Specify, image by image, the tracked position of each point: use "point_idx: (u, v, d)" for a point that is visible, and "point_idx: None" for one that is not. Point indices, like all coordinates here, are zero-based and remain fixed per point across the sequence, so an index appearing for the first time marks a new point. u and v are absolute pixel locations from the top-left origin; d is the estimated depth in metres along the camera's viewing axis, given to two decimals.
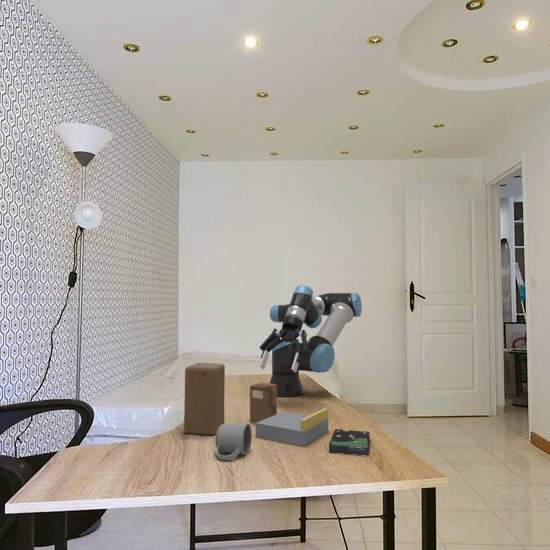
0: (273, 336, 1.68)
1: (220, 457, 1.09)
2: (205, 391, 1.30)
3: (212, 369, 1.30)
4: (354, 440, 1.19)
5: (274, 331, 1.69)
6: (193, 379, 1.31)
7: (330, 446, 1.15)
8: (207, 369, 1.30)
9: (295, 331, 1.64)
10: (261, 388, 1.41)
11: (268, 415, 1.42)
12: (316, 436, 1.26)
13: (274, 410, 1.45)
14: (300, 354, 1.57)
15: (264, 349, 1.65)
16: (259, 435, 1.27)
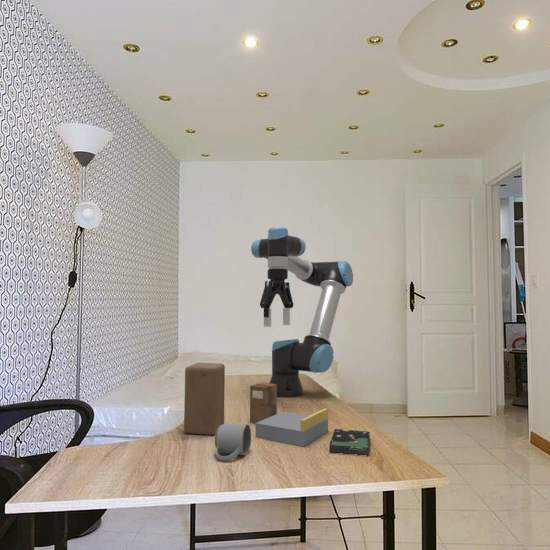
0: None
1: (219, 458, 1.09)
2: (205, 391, 1.30)
3: (212, 369, 1.30)
4: (355, 440, 1.19)
5: None
6: (193, 379, 1.31)
7: (331, 446, 1.15)
8: (207, 369, 1.30)
9: None
10: (261, 388, 1.41)
11: (268, 415, 1.42)
12: (316, 436, 1.26)
13: (274, 410, 1.45)
14: None
15: None
16: (259, 435, 1.27)
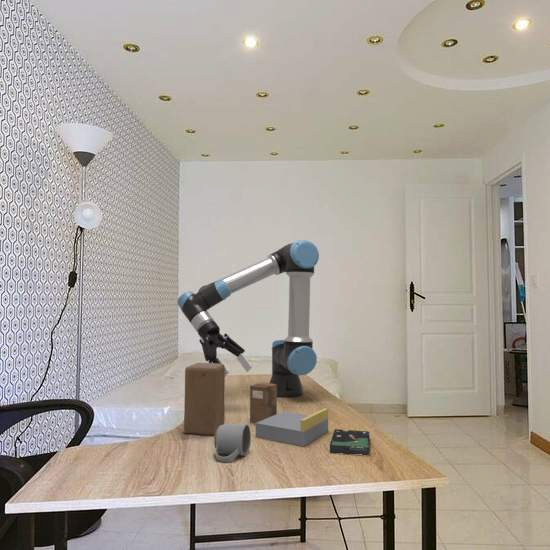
0: None
1: (219, 458, 1.08)
2: (205, 391, 1.30)
3: (212, 369, 1.30)
4: (355, 440, 1.19)
5: None
6: (193, 379, 1.31)
7: (331, 446, 1.15)
8: (207, 369, 1.30)
9: None
10: (261, 388, 1.41)
11: (268, 415, 1.42)
12: (316, 436, 1.26)
13: (274, 410, 1.45)
14: None
15: None
16: (259, 435, 1.27)
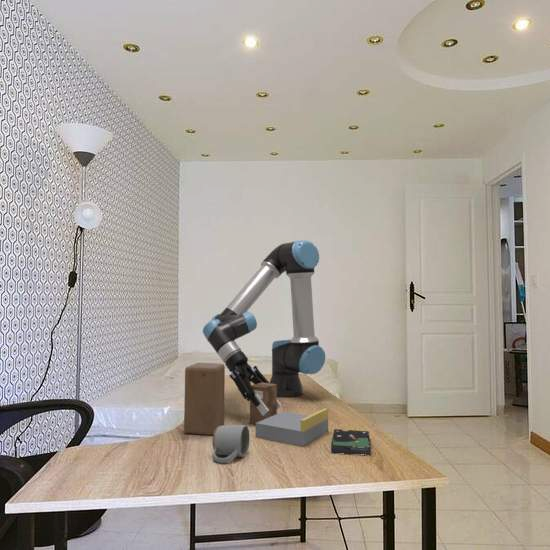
0: None
1: (217, 459, 1.07)
2: (205, 391, 1.30)
3: (212, 369, 1.30)
4: (356, 439, 1.19)
5: None
6: (193, 379, 1.31)
7: (332, 446, 1.15)
8: (207, 369, 1.30)
9: None
10: (261, 388, 1.41)
11: (268, 415, 1.42)
12: (316, 436, 1.26)
13: (274, 410, 1.45)
14: None
15: None
16: (259, 435, 1.27)
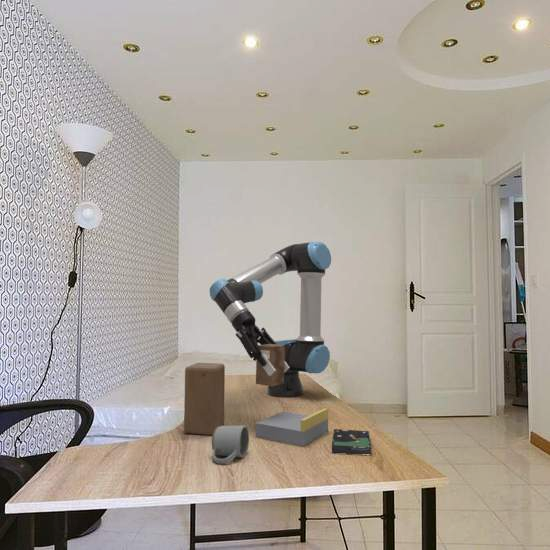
0: None
1: (216, 460, 1.07)
2: (205, 391, 1.30)
3: (212, 369, 1.30)
4: (356, 440, 1.19)
5: None
6: (193, 379, 1.31)
7: (333, 446, 1.15)
8: (207, 369, 1.30)
9: None
10: (268, 347, 1.35)
11: (274, 376, 1.35)
12: (316, 436, 1.26)
13: (281, 372, 1.38)
14: None
15: None
16: (259, 435, 1.27)
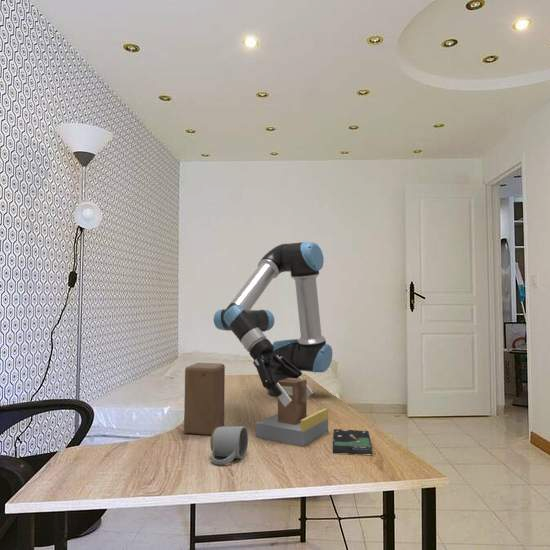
0: None
1: (215, 461, 1.06)
2: (205, 391, 1.30)
3: (212, 369, 1.30)
4: (356, 439, 1.19)
5: None
6: (193, 379, 1.31)
7: (334, 447, 1.15)
8: (207, 369, 1.30)
9: None
10: (290, 384, 1.28)
11: (298, 413, 1.28)
12: (316, 436, 1.26)
13: (304, 408, 1.31)
14: None
15: None
16: (259, 435, 1.27)
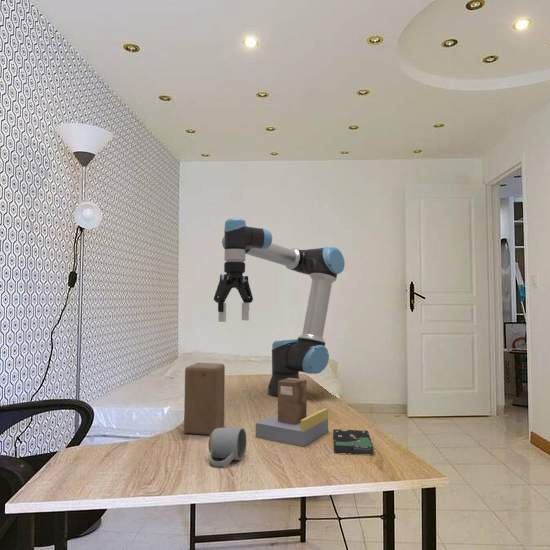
0: None
1: (213, 463, 1.05)
2: (205, 391, 1.30)
3: (212, 369, 1.30)
4: (357, 439, 1.19)
5: None
6: (193, 379, 1.31)
7: (335, 447, 1.15)
8: (207, 369, 1.30)
9: None
10: (290, 384, 1.28)
11: (298, 413, 1.28)
12: (316, 436, 1.26)
13: (304, 408, 1.31)
14: None
15: (243, 301, 1.63)
16: (259, 435, 1.27)
